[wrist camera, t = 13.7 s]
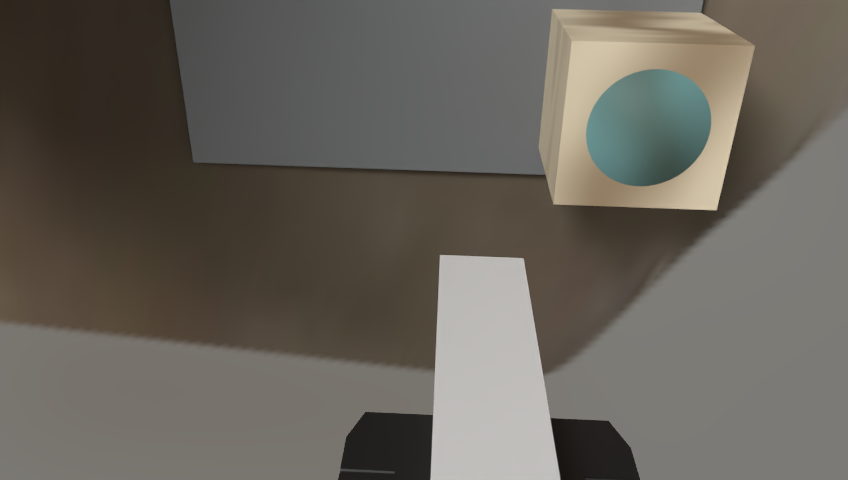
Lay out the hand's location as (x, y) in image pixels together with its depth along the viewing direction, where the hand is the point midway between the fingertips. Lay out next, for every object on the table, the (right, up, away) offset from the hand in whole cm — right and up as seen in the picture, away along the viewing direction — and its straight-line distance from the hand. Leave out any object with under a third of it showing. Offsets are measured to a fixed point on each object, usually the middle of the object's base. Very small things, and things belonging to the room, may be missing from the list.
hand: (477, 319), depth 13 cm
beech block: (+8, +6, +16) cm, 19 cm away
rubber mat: (-1, +10, +23) cm, 25 cm away
